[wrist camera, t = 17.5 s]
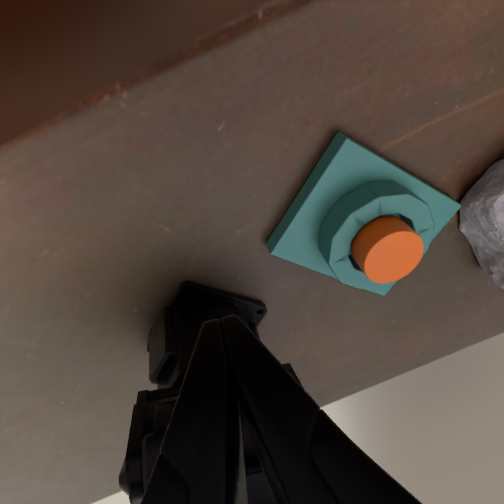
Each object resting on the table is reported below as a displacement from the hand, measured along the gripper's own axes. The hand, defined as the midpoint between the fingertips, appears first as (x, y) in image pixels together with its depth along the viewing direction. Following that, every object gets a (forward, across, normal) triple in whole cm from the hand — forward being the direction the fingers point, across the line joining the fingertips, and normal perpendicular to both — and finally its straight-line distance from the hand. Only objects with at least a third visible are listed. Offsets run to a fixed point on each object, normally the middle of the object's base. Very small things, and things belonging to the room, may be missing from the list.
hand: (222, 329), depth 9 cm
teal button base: (+13, -10, +7) cm, 18 cm away
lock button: (+10, -10, +7) cm, 16 cm away
